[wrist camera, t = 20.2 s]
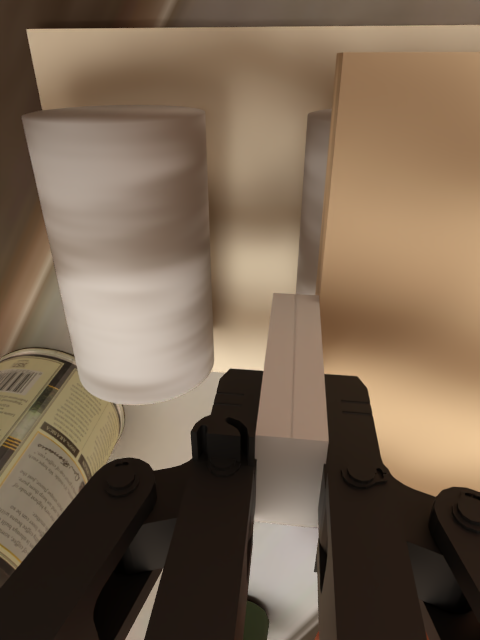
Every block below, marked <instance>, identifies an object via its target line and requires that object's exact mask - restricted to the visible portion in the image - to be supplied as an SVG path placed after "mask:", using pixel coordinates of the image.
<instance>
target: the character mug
mask: <svg viewBox="0 0 480 640" xmlns="http://www.w3.org/2000/svg"><path fill="white" fill-rule="evenodd" d="M268 628H269V619H268V617H267V615H266V612H265V610H263V609H262V608H261V607H259V606H258V605H256V604H255V603H253V602H250V601H247V605H246V614H245V624H244V634H243V640H267V635H268Z"/></svg>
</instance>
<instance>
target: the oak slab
mask: <svg viewBox="0 0 480 640" xmlns="http://www.w3.org/2000/svg"><path fill="white" fill-rule="evenodd" d="M315 295H319V305H320V319H321V334H322V349H323V364H324V374H334V375H348V376H358V377H359V379H360V380H361V381H362V382H363V384H364V385H365V386H366V387H367V388H368V393H369V398H370V405H371V409H372V416H373V419H374V424H375V429H376V434H377V439H378V444H379V449H380V454H381V459H382V461H383V464H384V465H385V466H386V467H387V468H388V469H389V471H390V473H391V475H392V476H393V477H394V478H395V479H397V480H398V481H400V482H401V483H403V484H404V485H406V486H408V487H411V488H413V489H415V490H418V491H421V492H424V493H426V494H429V495H432V496H435V497H436V496H437V495H438V494H439V493H440V492H441V491H442V490H444V489H447V488H450V487H466V488H469V489H472V490H475V491H478V492H480V52H343V53H337V56H336V67H335V79H334V90H333V101H332V112H331V123H330V134H329V145H328V157H327V168H326V179H325V190H324V201H323V212H322V224H321V235H320V246H319V257H318V268H317V279H316V290H315Z"/></svg>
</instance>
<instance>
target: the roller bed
mask: <svg viewBox="0 0 480 640" xmlns="http://www.w3.org/2000/svg"><path fill="white" fill-rule="evenodd" d="M26 31H27V36H28V41H29V46H30V51H31V56H32V61H33V66H34V71H35V76H36V81H37V86H38V91H39V96H40V101H41V106H42V111H36V112H31V113H27V114H24V115H23V116H22V122H23V126H24V131H25V135H26V140H27V144H28V149H29V153H30V158H31V162H32V167H33V171H34V176H35V180H36V185H37V189H38V194H39V198H40V203H41V208H42V212H43V217H44V221H45V226H46V230H47V235H48V239H49V244H50V248H51V253H52V257H53V262H54V266H55V271H56V275H57V280H58V284H59V289H60V293H61V298H62V302H63V307H64V311H65V316H66V320H67V325H68V329H69V334H70V338H71V343H72V347H73V352H74V356H75V361H76V366H77V370H78V375H79V378H80V381H81V383H82V385H83V387H84V388H85V389H86V390H87V391H88V392H89V393H91V394H92V395H94V396H96V397H97V398H99V399H102V400H105V401H108V402H112V403H116V404H124V405H146V404H154V403H159V402H164V401H167V400H171V399H174V398H176V397H179V396H181V395H184V394H186V393H187V392H189V391H191V390H193V389H194V388H196V387H197V386H199V385H200V384H201V383H202V382H203V381H204V380H205V379H206V378H207V377H208V375H209V374H210V372H225V373H226V372H227V371H228V370H229V369H230V368H231V369H246V370H260V371H264V363H265V355H266V347H267V339H268V331H269V323H270V315H271V307H272V299H273V293H283V294H302V295H315V290H316V279H317V268H318V257H319V246H320V235H321V224H322V212H323V201H324V190H325V179H326V168H327V157H328V145H329V134H330V123H331V112H332V101H333V90H334V79H335V67H336V56H337V53H343V52H480V25H411V26H302V27H194V28H85V29H26Z"/></svg>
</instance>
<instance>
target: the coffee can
mask: <svg viewBox="0 0 480 640" xmlns="http://www.w3.org/2000/svg"><path fill="white" fill-rule="evenodd" d="M124 423H125V420H124V410H123V406H122V404H116V403H112V402H108V401H105V400H102V399H99V398H97V397H96V396H94V395H92V394H91V393H89V392H88V391H87V390H86V389H85V388H84V387H83V385H82V383H81V381H80V378H79V375H78V370H77V366H76V361H75V357H73V356H71V355H69V354H66V353H63V352H60V351H57V350H50V349H41V348H29V349H22V350H18V351H15V352H12V353H10V354H7V355H5V356H3V357H2V358H1V359H0V588H1V587H2V585H3V584H4V583H5V582H6V581H7V579H8V578H9V577H10V576H11V575H12V573H13V572H14V571H15V570H16V568H17V567H18V566H19V565H20V564H21V562H22V561H23V560H24V559H25V558H26V556H27V555H28V554H29V553H30V551H31V550H32V549H33V548H34V547H35V545H36V544H37V543H38V542H39V540H40V539H41V538H42V537H43V536H44V534H45V533H46V532H47V531H48V530H49V528H50V527H51V526H52V525H53V523H54V522H55V521H56V520H57V519H58V517H59V516H60V515H61V514H62V513H63V511H64V510H65V509H66V508H67V506H68V505H69V504H70V503H71V502H72V500H73V499H74V498H75V497H76V495H77V494H78V493H79V492H80V491H81V489H82V488H83V487H84V486H85V485H86V483H87V482H88V481H89V480H90V478H91V477H92V476H93V475H94V474H95V473H96V472H97V471H98V470H99V469H100V468H101V467H102V466H104V465H105V464H106V463H107V461H108V458H109V456H110V454H111V452H112V450H113V448H114V446H115V444H116V442H117V441H118V439H119V438H120V436H121V434H122V431H123V428H124Z"/></svg>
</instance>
